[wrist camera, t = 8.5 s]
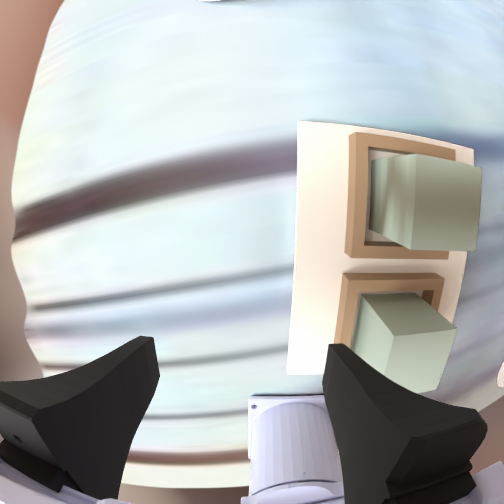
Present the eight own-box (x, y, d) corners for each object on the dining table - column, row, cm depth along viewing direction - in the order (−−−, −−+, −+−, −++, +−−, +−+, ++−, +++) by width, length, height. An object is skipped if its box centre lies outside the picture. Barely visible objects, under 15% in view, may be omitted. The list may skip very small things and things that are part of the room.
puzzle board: (435, 355, 21) (472, 400, 15) (286, 367, 22) (293, 430, 15) (466, 149, 17) (526, 146, 10) (297, 123, 18) (315, 93, 11)
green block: (424, 231, 18) (475, 251, 12) (368, 228, 18) (410, 249, 12) (427, 168, 17) (481, 167, 11) (371, 160, 17) (415, 153, 11)
